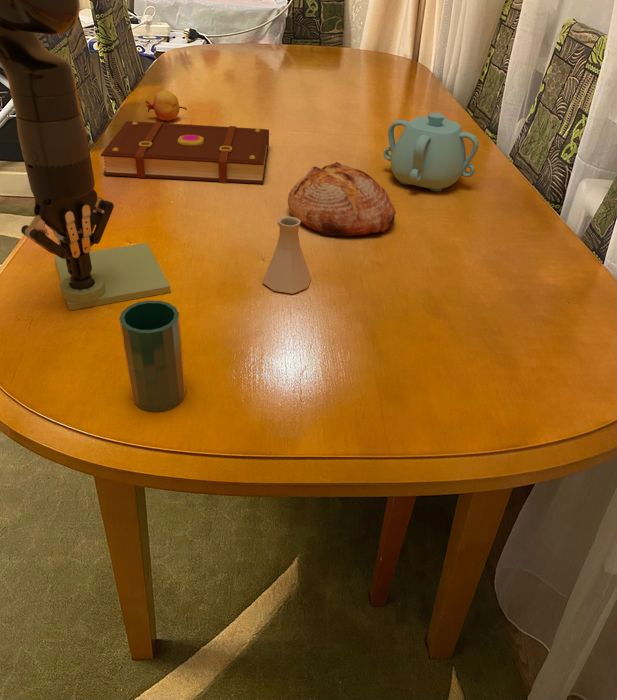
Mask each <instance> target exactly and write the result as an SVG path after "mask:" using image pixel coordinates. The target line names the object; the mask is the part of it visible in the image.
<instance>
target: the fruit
mask: <svg viewBox="0 0 617 700" xmlns="http://www.w3.org/2000/svg"><path fill="white" fill-rule="evenodd" d="M144 103H146V105H145V106H146V107H147V108H148V109H147V113H149V112H150V111H151V110H153V111H154V114H155V116H156V117H157V119H158V120H161V121H166V122H170V121H173V120H175V119H176V118H177V117H178V115H179V113H180V109H183V110H185V111H187V110H188V108H187V107H185V106H180V104H179V99H178V96H176V94H174V92H172V91H169V90H167V89H166V90H165V89H164V90H160V91H158V92H156V93H155V96H154V100H153V102H150V101H148V100H146V99H145V101H144Z"/></svg>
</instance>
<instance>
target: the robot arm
mask: <svg viewBox="0 0 617 700" xmlns="http://www.w3.org/2000/svg"><path fill="white" fill-rule="evenodd" d="M80 11H81V1H80V0H0V66H1V67H2V69H3V72H4V74H5V76H6V78H7V81H8V88H9V91H10V96H11V100H12V104H13V109H14V112H15V118H16V127H17V136H18V141H19V145H20V149H21V154H22V157H23V163H24V166H25V170H26V174H27V179H28V182H29V188H30V191H31V193H32V195H33V197H34V207H33V214H34V218H33V220H31V222H30V224H29V225H27V224H25V225H23V226H22V227H21V229H20V231H21V234H22V235H24V236H25V237H26V238H28V239H29V240H31V241H32V242H34V243H35V244H37V245H39V246H40V247H41V248H43V249H44V250H45V251H47V252H48V253H50V254H52V255H55V256H56V257H57V256H58V257H60V258H62V259H65V260H66V265H67V268H68V273H69V274H70V275H71V276H73V277H74V278H76V279H78V280H80V281H82V280H84V279H86V278H88V277H90V276H91V274H90V272H91V271H92V265H91V259H90V254H89V252H90V251H91V248H92V246H94V245H98V244H99V243H100V242H101V240H102V238H103V236H104V233H105V230H106V228H107V225H108V223H109V221H110V218H111V215H112V212H113V211H114V208H115V206H114V203H113V202H111V201H109V200H107V199H104V198H102V197H100V196H98V193H97V191H96V190H95V185H96V182H95V176H94V175H95V174H94V169H93V163H92V157H91V151H90V145H89V139H88V133H87V129H86V125H85V122H84V119H83V115H82V111H81V105H80V99H79V94H78V93H79V92H78V87H77V81H76V76H75V72H74V69H73V67H72V65H71V63H70V62H69V61H68V60H67V59H65V58H64V57H62V56H60V55H58V54H57V53H56V54H55V53H54V52H52V51H50V50H48V49H47V48H46V47H44V46H43V44H42V42H41V41H40V38H39V37H38V35H37V34H40V35H48V36H56V35H62V34H66V33H67V32H69V31H70V30H71V29H72V28H73V27H74V26H75V25H76V23H77V21H78V18H79V15H80ZM45 225H46V226H47V227H48V228H49V229H50V230H52V232H53V235H54V237H55V238H56V239H57V242H56V241H55V240H53V239H51V238H50V236H49V234H50V233H49V232H48V229H47V228H46V226H45Z"/></svg>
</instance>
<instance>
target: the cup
mask: <svg viewBox="0 0 617 700" xmlns="http://www.w3.org/2000/svg"><path fill="white" fill-rule="evenodd" d="M180 319H181V318H180V312H179V311H178V309H177V307H176V306H175V305H173V304H171V303H170V302H167V301H163V300H155V299H154V300H153V299H152V300H151V299H150V300H143V301H137V302H135V303H133V304H130V305H128V306H127V307H125V308H124V309H123V310H122V311H121V313H120V315H119V326H120V332H121V339H122V344H123V350H124V357H125V363H126V370H127V374H128V381H129V388H130V395H131V398H132V402H133V404H134V405H135V406H136V407H138V408H139V409H140V410H143V411H146V412H151V413H160V412H166V411H169V410H172V409H174V408H176V407H178V406H179V405H180V404H181V403H182V402H183V401H184V399H185V397H186V377H185V365H184V355H183V346H182V345H183V342H182V331H181V330H182V329H181V320H180Z"/></svg>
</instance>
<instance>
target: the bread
mask: <svg viewBox="0 0 617 700" xmlns="http://www.w3.org/2000/svg"><path fill="white" fill-rule="evenodd" d="M387 192H388V191H386V189H385V188H383V187H382V186H381V185H380V184H379V183H378V182H377V181H376V180H375V179H374V178H373V177H371V176H370V175H369V174H368V173H366V172H365V171H363V170H361V169H358V168H353V167H351V166H348V165H345V164H341V163H340V162H338V161H335V162H333V163H330V164H327V165H324V166H323V167H321V168H320V167H318V166H313V167H311V168H310V170H309V171H308V172H307V173H306V174H305V176H304V177H303V178H301V179H300V180H298V181H297V182H296V184H295V185H294V186H293V187H292V188H291V189H290V191H289V193H288V194H287V195H288V196H287V207H288V211H289V213H290V214H291V215H292V217H295V218H297V219H299V220H301V224H303V225H305V226H306V227H307V228H309V229H311V230H313V231H316V232H318V233H319V234H322V235H323V236H325V237H333V236H335V237H352V236H359V237H360V236H362V235H369V234H372V233H380V232H381V233H383V232H385V231H386V230H387V229H389V228H391V226H392V225H394V222H395V215H396V209H395V207H394V205H393V203H392V202H391V199H390V196H389V194H388V193H387Z"/></svg>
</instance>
